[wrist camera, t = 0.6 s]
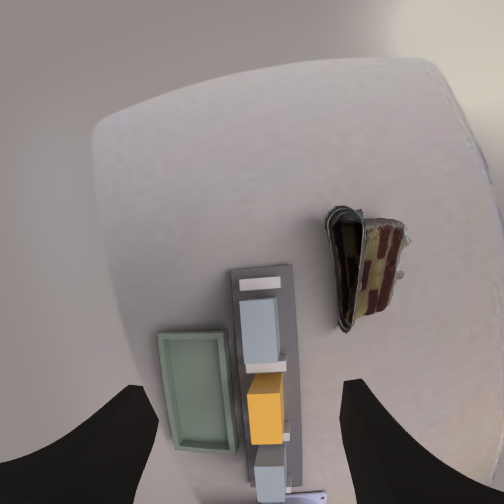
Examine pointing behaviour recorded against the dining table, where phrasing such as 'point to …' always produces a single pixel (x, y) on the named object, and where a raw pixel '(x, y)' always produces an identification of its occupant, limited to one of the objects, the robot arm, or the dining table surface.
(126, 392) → the robot arm
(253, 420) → the block
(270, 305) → the block
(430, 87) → the dining table surface
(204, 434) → the tray
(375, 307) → the chocolate cake
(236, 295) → the block
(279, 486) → the block
